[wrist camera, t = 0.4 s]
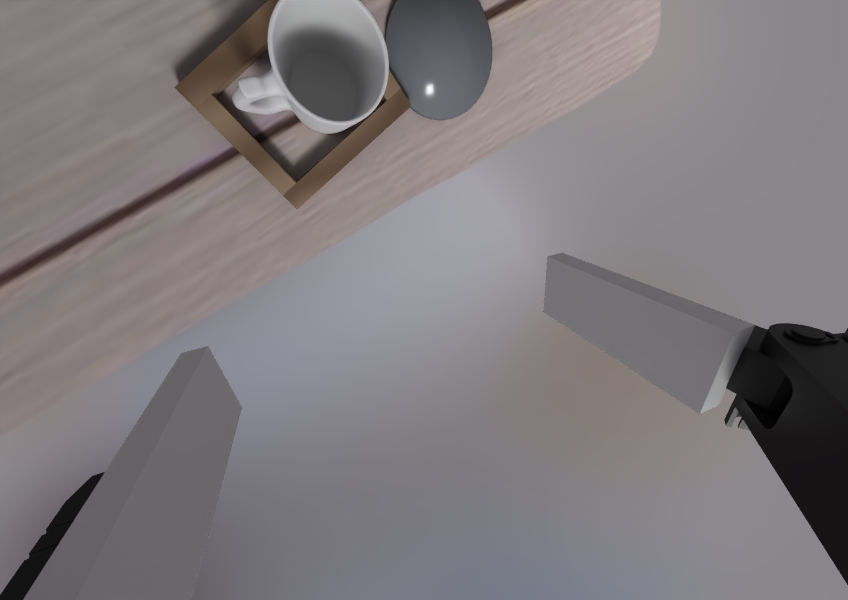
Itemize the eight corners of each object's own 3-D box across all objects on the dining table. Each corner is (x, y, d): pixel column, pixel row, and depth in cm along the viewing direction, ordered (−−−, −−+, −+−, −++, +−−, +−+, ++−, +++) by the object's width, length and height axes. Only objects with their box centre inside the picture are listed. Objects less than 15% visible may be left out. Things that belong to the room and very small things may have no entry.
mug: (344, 41, 27) (366, -32, 17) (370, 125, 30) (402, 108, 20) (229, 70, 25) (175, 9, 15) (270, 156, 28) (249, 154, 18)
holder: (181, 91, 25) (174, 87, 23) (317, -35, 24) (317, -46, 23) (297, 207, 31) (297, 209, 30) (407, 107, 31) (411, 105, 29)
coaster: (359, 32, 27) (360, 30, 26) (452, -53, 27) (454, -57, 26) (429, 143, 33) (431, 143, 32) (506, 74, 32) (509, 72, 32)
